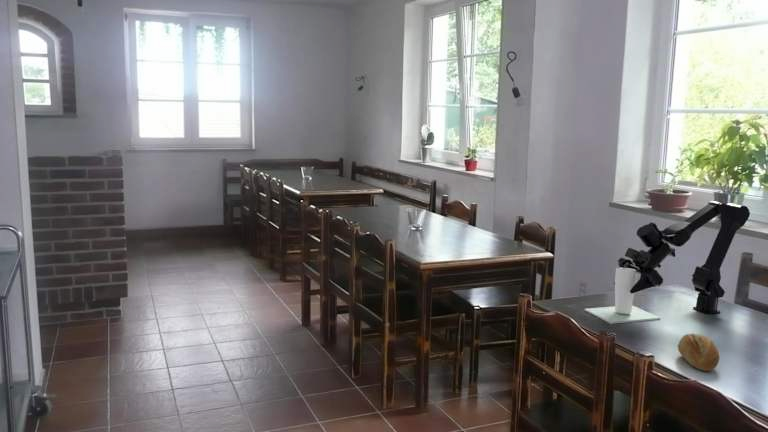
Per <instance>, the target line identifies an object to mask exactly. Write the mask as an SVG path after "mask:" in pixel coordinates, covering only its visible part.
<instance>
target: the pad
mask: <svg viewBox="0 0 768 432" xmlns="http://www.w3.org/2000/svg"><path fill="white" fill-rule="evenodd" d="M583 311H585V312H587V314H588V313H589V314H591V315H593V316H595V317H596V318H598V319H600V320H603V321H604V322H606V323H608V324H610V325H613V324H614V325H615V324H623V323H624V324H625V323H636V322H646V321H657V320H659V321H660V320H661V317H660V316H658V315H655V314H653V313H651V312H650V311H649V312H648V311H646V310H643V309H642V308H639V307H637V306H635V305H633V304H632V312H631V313H630V314H621V313H617V312H616V311H615V305H613V306H603V307H591V308H590V307H589V308H584V310H583Z"/></svg>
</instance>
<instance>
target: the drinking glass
mask: <svg viewBox="0 0 768 432" xmlns="http://www.w3.org/2000/svg"><path fill="white" fill-rule="evenodd" d="M614 276H615V277H614V282H615V285H614V295H615V296H614V298H615V299H614V300H615V301H614V306H615V311H616V312H617V313H621V314H630V313H631V312H632V305H633V304H634V303H633V302H634V298H635V297H634V296H635V293H633V294H631V293H630V290H631V289H632V287H633V286H634V285H635V284H636V283H637V276H638V273H637V270H635V269H631V268H619V267H616V268H615V275H614Z"/></svg>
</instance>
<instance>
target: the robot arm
mask: <svg viewBox="0 0 768 432" xmlns="http://www.w3.org/2000/svg"><path fill="white" fill-rule="evenodd" d="M719 215H720V216H719ZM750 215H751V212H750V209H749V207H748V206H746V205H742V204H736V203H733V202H729V203H723V202H720V201H716V200H712V201H709V202H708V203H707V205H705V206H703V207H701V208H700V209H699V210H698V211H696V212H695V213H693V214H692V215H690V216H689V217H688V218H686V219H685V220H684V221H683V220H682V221H681V222H678V223H673V224H672V225H669V226H667V227H665V228H664V229H663V230H660V229H659V228H658V226H657V224H656V223H655V222H649V223H648V224H644V225H642V226H640V227H639V228H638V229H637V231H636V236H637V237H638V238H639V239H640V241H641V243H642V244H643V245H644V246H645V247H647V248H649V249H647V251H645V250H644V249H640V250H637V249H634V248H631V247H628V248H627V249H626V251H625V254H624V256H625V257H620V258H618V260H617V261H616V262H617V265H618V268H631V269H635V270H637V274H639V275H640V277H639V278H638V280H637V281H636V284H635V285H634V286H633V287H632V289H631V290H630V293H631V294H633V293H634V294H635V293H638V292H641V291H644V290H647V289H651V288H656V287H658V288H659V287H660V286H661V285H662V284H663V283H664V278H663V277H662V275H661V274H660V272H659V271H658V270H656V268H658V269H660V268H661V267H662V265H661V263H663V261H664V260H665V259H666V258H667V257H668V256H671V257H673V258H675V257H676V249H675V248H673V247H671V246H674V247H677V248H678V247H682V246H684V245H685V244H686V243H687V242H688V241H690V239H691V238H692V235H693V234H694V233H695V232H696V231H698V230H699V229H700V228H702V227H703V226H704V225H706V224H708V223H709V222H711V221H712V220H713V219H714V218H716V217H717V216H719V219H720V225H721V226H720V228H719V231H718V233H717V235H716V237H715V240H714V242H713V245H712V247H711V248H710V251H709V254H708V256H707V258H706V260H705V262H704V264H702V265H701V266H698V265H697V266H696V267H695V269H694V272H693V274H692V275H691V277H692V279H691V283H692V284H693V287H694V291H695V292H698V294H697V297H696V303H695V306H693V307H692V309H694V310H696V311H698V312H700V313H703V314H706V315H709V314H710V315H711V314H720V313H721V310H718V305H719V299H720V298H724V295H725V294H726V291H725V290H724V288H723V287H722V286H721V285H720V282H721V279H722V277H721V276H722V275H721V270H720V269H721V267H722V265H723V262H724V260H725V258H726V255H727V253H728V251H729V249H730V247H731V244H732V241H733V240H734V237H735V235H736V233H737V231H738V230H739V229H741V228H742V227H744V226H745V225H746V223H747V222H748V220H749V217H750ZM613 285H614V286H615V281H614V282H613Z"/></svg>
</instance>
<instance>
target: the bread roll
mask: <svg viewBox="0 0 768 432" xmlns="http://www.w3.org/2000/svg"><path fill="white" fill-rule="evenodd" d="M677 350H678V352H679V354H680V355H681V356H682V358H683V359H684V360H686V361H687V363H689V364H690V365H691V366H693V367H694V368H696V369H698V370H700V371H705V372H712V371H713V370H715V369H716V368H717V367H718V364H719V361H720V353H719V349H718V348H717V346H716V344H715V343H714V341H713V340H712V339H710V337H707V336H705V335H701V334H695V333H688V334H687V333H686V334H684V335H683V336H682V337H681V338H680V340H679V341H678V343H677Z"/></svg>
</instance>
